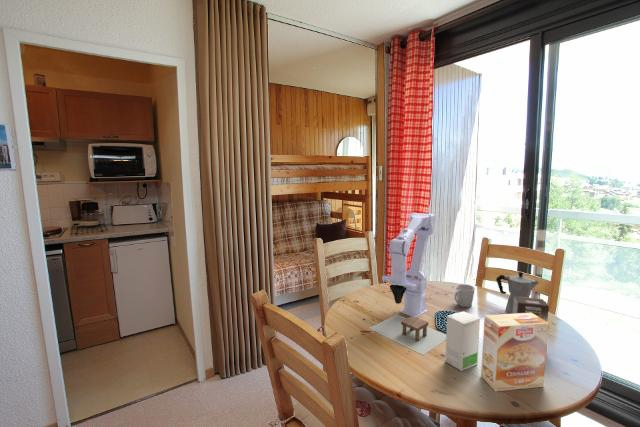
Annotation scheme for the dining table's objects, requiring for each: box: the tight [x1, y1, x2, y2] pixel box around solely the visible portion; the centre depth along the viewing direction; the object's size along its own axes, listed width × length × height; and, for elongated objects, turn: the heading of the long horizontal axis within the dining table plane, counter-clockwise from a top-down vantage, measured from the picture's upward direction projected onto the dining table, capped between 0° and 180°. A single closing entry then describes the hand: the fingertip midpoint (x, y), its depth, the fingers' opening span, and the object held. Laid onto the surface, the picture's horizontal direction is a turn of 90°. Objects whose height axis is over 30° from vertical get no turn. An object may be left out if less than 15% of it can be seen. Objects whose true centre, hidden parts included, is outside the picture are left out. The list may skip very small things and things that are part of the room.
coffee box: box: [513, 296, 550, 322], centre depth 110 cm, size 9×6×16 cm
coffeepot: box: [496, 271, 540, 314], centre depth 134 cm, size 15×9×18 cm, turn 59°
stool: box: [401, 316, 429, 341], centre depth 117 cm, size 5×7×7 cm
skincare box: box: [444, 310, 481, 372], centre depth 100 cm, size 8×7×16 cm
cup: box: [453, 283, 476, 308], centre depth 142 cm, size 8×10×8 cm
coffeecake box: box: [480, 312, 550, 392], centre depth 90 cm, size 15×7×20 cm, turn 96°
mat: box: [368, 314, 446, 356], centre depth 119 cm, size 18×24×1 cm
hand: (398, 302), depth 123 cm, fingers closed
